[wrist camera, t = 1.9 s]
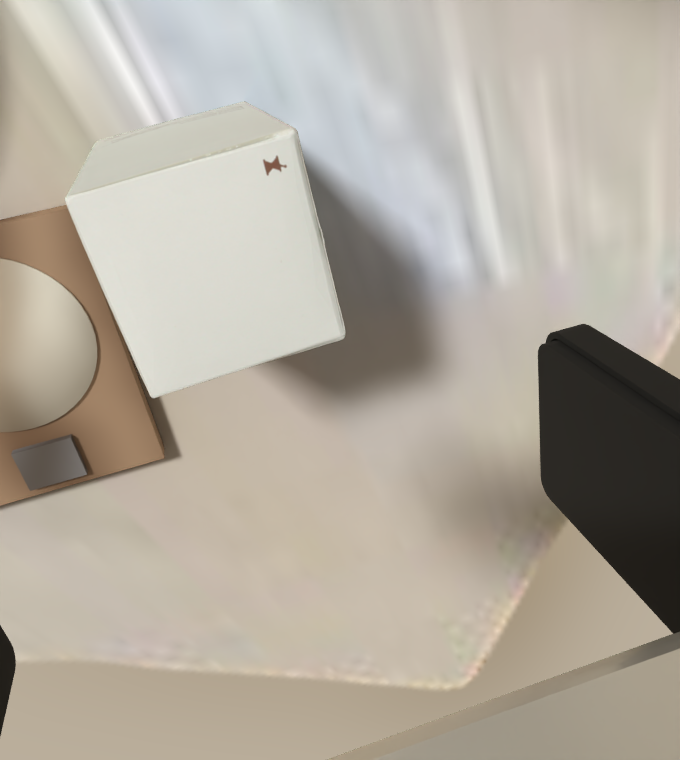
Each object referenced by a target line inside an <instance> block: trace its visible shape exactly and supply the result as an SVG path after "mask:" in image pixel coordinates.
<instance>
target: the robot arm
mask: <svg viewBox="0 0 680 760" xmlns="http://www.w3.org/2000/svg"><path fill="white" fill-rule="evenodd" d="M538 376H539V419H540V462H541V481H542V485H543V488H544V490H545V492H546V494H547V496H548V497H549V498H550V500H551V501H552V502H553V503H554V504H555V505H556V506H557V507H558V508H559V509H560V511H561V512H562V513H563V514H564V515H565V516H566V517H567V518H568V519H569V520H570V521H571V523H572V524H573V525H574V526H575V527H576V528H577V529H578V530H579V531H580V532H581V533H582V535H583V536H584V537H585V538H586V539H587V540H588V541H589V542H590V543H591V544H592V545H593V547H594V548H595V549H596V550H597V551H598V552H599V553H600V554H601V555H602V556H603V557H604V559H606V561H607V562H608V563H609V564H610V565H611V566H612V567H613V568H614V569H615V570H616V572H617V573H618V574H619V575H620V576H621V577H622V578H623V579H624V580H625V581H626V583H627V584H628V585H629V586H630V587H631V588H632V589H633V590H634V591H635V592H636V593H637V594H638V596H639V597H640V598H641V599H642V600H643V601H644V602H645V603H646V604H647V605H648V606H649V608H650V609H651V610H652V611H653V612H654V613H655V614H656V615H657V616H658V617H659V618H660V620H662V622H663V623H664V624H665V625H666V626H667V627H668V628H669V629H670V630H671V632H672V633H673V634H672V635H669V636H666V637H663V638H661V639H658V640H655V641H652V642H650V643H647V644H644V645H641V646H639V647H636V648H633V649H630V650H627V651H624V652H622V653H619V654H616V655H614V656H611V657H608V658H605V659H602V660H600V661H597V662H594V663H591V664H588V665H586V666H583V667H580V668H577V669H574V670H572V671H569V672H566V673H563V674H561V675H558V676H555V677H552V678H550V679H547V680H544V681H541V682H539V683H536V684H533V685H530V686H527V687H525V688H522V689H519V690H516V691H513V692H511V693H508V694H505V695H502V696H500V697H497V698H494V699H491V700H488V701H486V702H483V703H480V704H477V705H475V706H472V707H469V708H466V709H464V710H461V711H458V712H456V713H453V714H450V715H447V716H445V717H442V718H439V719H436V720H434V721H431V722H428V723H426V724H423V725H420V726H417V727H415V728H412V729H409V730H406V731H404V732H401V733H398V734H396V735H393V736H390V737H387V738H384V739H382V740H379V741H377V742H374V743H371V744H368V745H366V746H363V747H360V748H357V749H354V750H352V751H349V752H346V753H344V754H341V755H338V756H336V757H333V758H330V759H327V760H680V379H678V378H676V377H675V376H673V375H671V374H670V373H668V372H666V371H665V370H663V369H661V368H660V367H658V366H656V365H654V364H653V363H651V362H649V361H648V360H646V359H644V358H643V357H641V356H639V355H638V354H636V353H634V352H633V351H631V350H629V349H628V348H626V347H624V346H623V345H621V344H619V343H618V342H616V341H614V340H613V339H611V338H609V337H608V336H606V335H604V334H603V333H601V332H599V331H597V330H596V329H594V328H592V327H591V326H589V325H586V324H581V325H577V326H574V327H570V328H566V329H563V330H559V331H556V332H552V333H550V334H549V335H548V337H547V339H546V343H545V344H542V345H541V346H540V347H539V350H538ZM15 666H16V663H15V653H14V650H13V647H12V645H11V642H10V641H9V639H8V637H7V636H6V634H5V632H4V631H3V629H2V627H1V626H0V735H1V731H2V726H3V722H4V717H5V713H6V709H7V704H8V700H9V695H10V690H11V686H12V682H13V677H14V673H15Z"/></svg>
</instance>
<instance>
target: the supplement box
mask: <svg viewBox="0 0 680 760" xmlns="http://www.w3.org/2000/svg"><path fill="white" fill-rule="evenodd" d="M65 202H66V205H67V207H68V210H69V212H70V215H71V217H72V220H73V222H74V225H75V227H76V230H77V232H78V234H79V237H80V239H81V241H82V244H83V246H84V248H85V251H86V253H87V255H88V258H89V260H90V262H91V265H92V267H93V269H94V271H95V274H96V276H97V278H98V281H99V283H100V285H101V288H102V290H103V292H104V295H105V297H106V299H107V301H108V304H109V306H110V308H111V310H112V312H113V315H114V317H115V319H116V321H117V324H118V326H119V328H120V330H121V333H122V335H123V337H124V339H125V342H126V344H127V346H128V349H129V351H130V353H131V355H132V358H133V360H134V362H135V364H136V367H137V369H138V371H139V373H140V375H141V377H142V380H143V382H144V384H145V386H146V388H147V390H148V392H149V395H150V396H151V398H157V397H160V396H163V395H166V394H169V393H172V392H175V391H178V390H181V389H184V388H188V387H191V386H194V385H197V384H200V383H203V382H206V381H209V380H212V379H215V378H218V377H221V376H225V375H228V374H231V373H234V372H237V371H240V370H243V369H246V368H250V367H253V366H256V365H260V364H263V363H266V362H270V361H273V360H277V359H280V358H283V357H287V356H290V355H294V354H297V353H300V352H304V351H307V350H310V349H313V348H317V347H320V346H323V345H327V344H330V343H334V342H337V341H341V340H343V339H344V338H345V334H346V331H345V326H344V322H343V318H342V313H341V309H340V306H339V302H338V297H337V293H336V289H335V285H334V281H333V277H332V273H331V269H330V265H329V260H328V256H327V252H326V247H325V242H324V238H323V233H322V229H321V226H320V223H319V220H318V216H317V212H316V208H315V204H314V200H313V195H312V191H311V187H310V183H309V179H308V174H307V170H306V166H305V162H304V158H303V154H302V149H301V145H300V140H299V136H298V132H297V130H296V129H295V128H293V127H291V126H290V125H288V124H286V123H284V122H282V121H280V120H278V119H277V118H275V117H273V116H271V115H269V114H267V113H265V112H264V111H262V110H260V109H258V108H256V107H254V106H252V105H251V104H249V103H247V102H245V101H244V102H240V103H236V104H232V105H228V106H224V107H221V108H217V109H213V110H209V111H205V112H201V113H197V114H193V115H189V116H185V117H181V118H178V119H174V120H170V121H166V122H163V123H159V124H156V125H152V126H149V127H145V128H141V129H137V130H134V131H130V132H126V133H122V134H119V135H115V136H112V137H108V138H105V139H101V140H98V141H97V142H95V144H94V146H93V148H92V149H91V151H90V153H89V155H88V157H87V159H86V161H85V163H84V165H83V167H82V168H81V170H80V172H79V174H78V176H77V178H76V180H75V182H74V183H73V185H72V187H71V189H70V191H69V193H68V194H67V196H66V198H65Z"/></svg>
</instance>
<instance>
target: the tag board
mask: <svg viewBox="0 0 680 760" xmlns="http://www.w3.org/2000/svg"><path fill="white" fill-rule="evenodd" d="M164 458H165V457H164V445H163V442H162V440H161V437H160V434H159V432H158V429H157V426H156V424H155V421H154V418H153V415H152V413H151V410H150V407H149V405H148V402H147V399H146V397H145V394H144V391H143V388H142V386H141V383H140V380H139V378H138V375H137V372H136V370H135V367H134V364H133V361H132V359H131V356H130V353H129V351H128V348H127V345H126V343H125V340H124V337H123V335H122V333H121V330H120V328H119V326H118V324H117V321H116V319H115V317H114V315H113V312H112V310H111V308H110V306H109V304H108V301H107V299H106V297H105V295H104V292H103V290H102V288H101V285H100V283H99V281H98V278H97V276H96V274H95V271H94V269H93V267H92V265H91V262H90V260H89V258H88V255H87V253H86V251H85V248H84V246H83V244H82V241H81V239H80V237H79V234H78V232H77V230H76V227H75V225H74V222H73V220H72V217H71V215H70V212H69V210H68V207H67V205H64V206H59V207H55V208H51V209H46V210H42V211H37V212H33V213H29V214H24V215H20V216H15V217H11V218H6V219H2V220H0V506H1V505H4V504H8V503H11V502H14V501H18V500H21V499H25V498H28V497H32V496H35V495H39V494H42V493H46V492H49V491H53V490H56V489H60V488H63V487H66V486H70V485H73V484H77V483H80V482H84V481H87V480H91V479H94V478H98V477H101V476H105V475H108V474H112V473H115V472H118V471H122V470H125V469H129V468H132V467H136V466H139V465H143V464H146V463H150V462H153V461H157V460H160V459H164Z"/></svg>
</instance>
